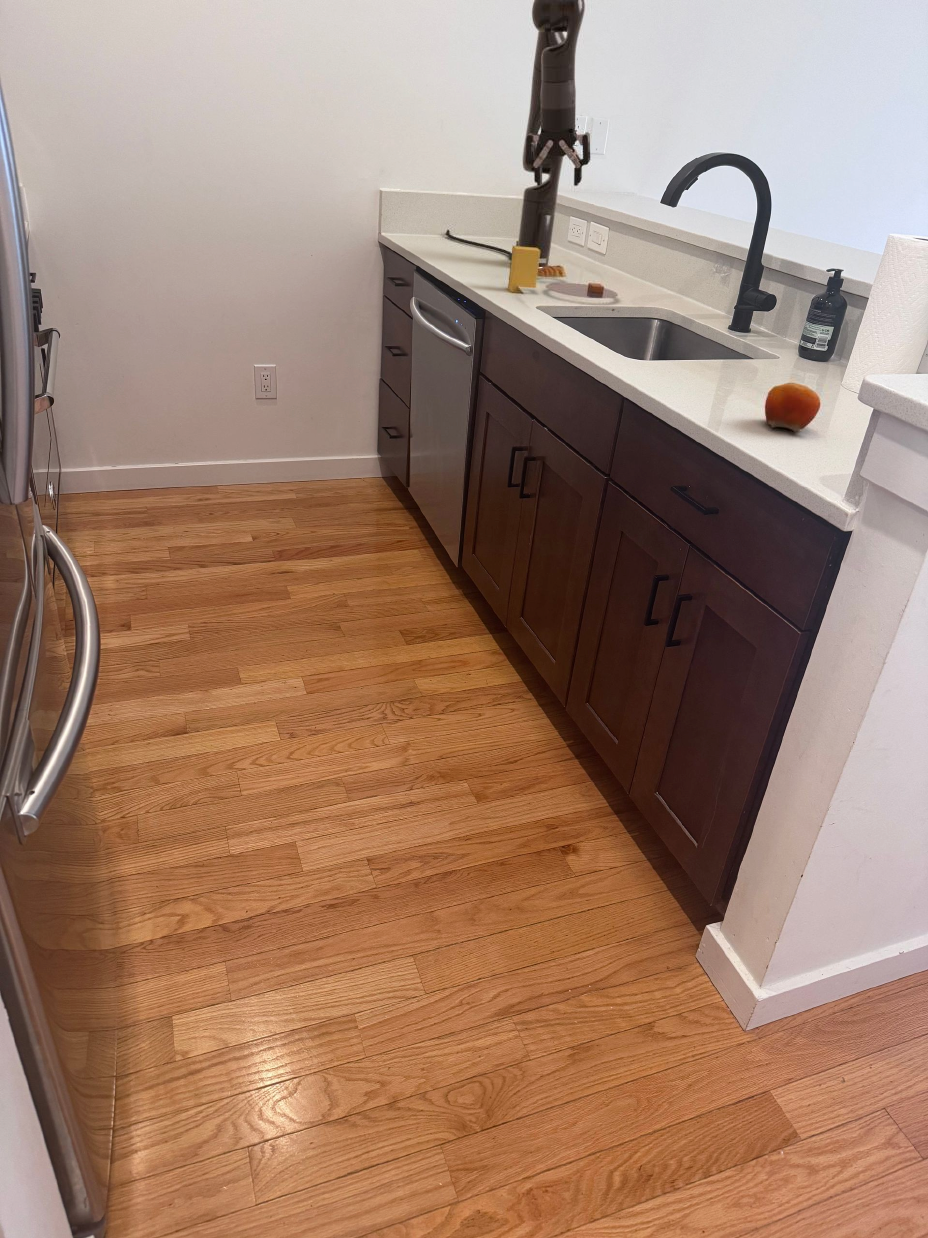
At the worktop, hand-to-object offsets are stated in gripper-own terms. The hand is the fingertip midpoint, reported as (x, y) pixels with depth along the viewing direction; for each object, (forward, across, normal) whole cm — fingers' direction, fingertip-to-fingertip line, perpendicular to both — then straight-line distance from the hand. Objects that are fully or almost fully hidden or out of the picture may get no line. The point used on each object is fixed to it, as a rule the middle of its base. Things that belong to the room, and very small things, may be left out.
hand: (557, 184), depth 200 cm
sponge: (+24, +9, +1) cm, 26 cm away
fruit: (+14, -54, +80) cm, 97 cm away
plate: (+27, -5, -4) cm, 27 cm away
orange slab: (+26, -8, -6) cm, 28 cm away
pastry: (+29, +6, -20) cm, 36 cm away
